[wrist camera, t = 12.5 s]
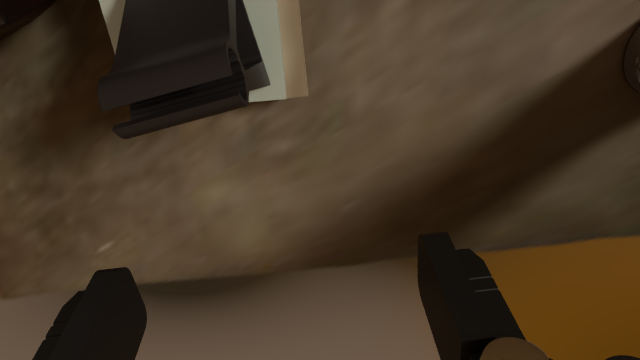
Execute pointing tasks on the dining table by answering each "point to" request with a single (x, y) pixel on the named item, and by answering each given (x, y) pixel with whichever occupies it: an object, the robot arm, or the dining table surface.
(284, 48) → the tower base
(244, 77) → the phone stand
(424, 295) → the robot arm
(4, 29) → the manual coffee grinder
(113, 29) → the tower top
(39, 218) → the dining table surface
